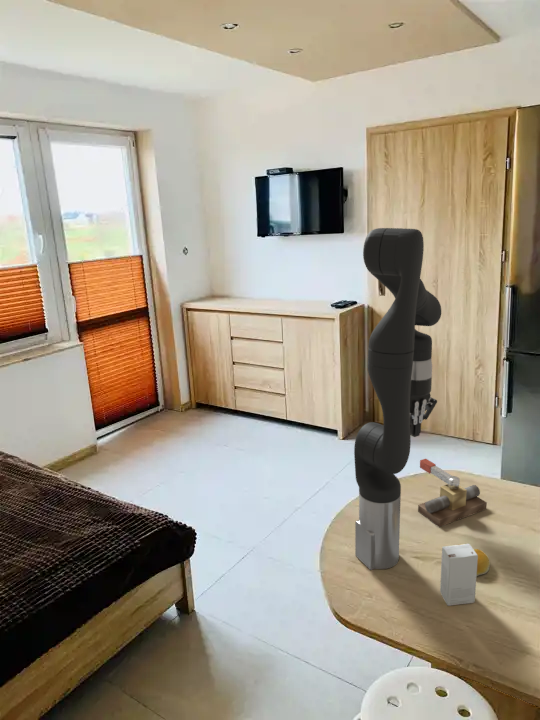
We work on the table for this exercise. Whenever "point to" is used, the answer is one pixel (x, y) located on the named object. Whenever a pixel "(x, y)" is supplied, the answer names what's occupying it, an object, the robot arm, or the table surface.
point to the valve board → (453, 514)
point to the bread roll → (482, 562)
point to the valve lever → (440, 473)
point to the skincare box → (458, 574)
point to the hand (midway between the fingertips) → (414, 435)
